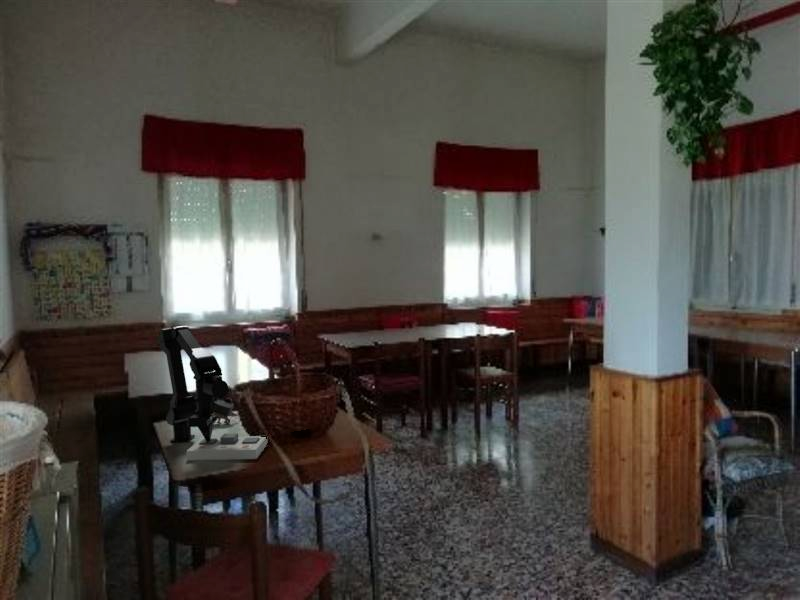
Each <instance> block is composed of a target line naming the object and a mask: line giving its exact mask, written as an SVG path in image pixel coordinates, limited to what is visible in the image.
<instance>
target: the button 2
mask: <svg viewBox="0 0 800 600" xmlns="http://www.w3.org/2000/svg"><path fill="white" fill-rule="evenodd" d="M258 441H259V437H257V438H245V439H244V440H243V442H242V444H256V443H257V442H258Z"/></svg>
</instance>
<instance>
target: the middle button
mask: <svg viewBox="0 0 800 600" xmlns="http://www.w3.org/2000/svg"><path fill="white" fill-rule="evenodd" d="M220 437H221V438H220V439H221V444H235V443H236V442H237V441H238V437H239V433H236V432H235V433H224V434H223V435H221V436H220Z"/></svg>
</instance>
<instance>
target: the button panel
mask: <svg viewBox="0 0 800 600" xmlns="http://www.w3.org/2000/svg"><path fill="white" fill-rule="evenodd" d="M261 436H262V435H256V436H255V435H254V436H253V435H249V436H246V435H245V436H238V441H237V442H236V443H235V444H221V439H220V438H221V437H222V436H211V439H215V438H217V442H216V443H214V444H213V445H199V443H200V442H201V441H202V440H203V439H205V438H204V436H203V437H201V438H200V439H199V440H198V441H196V442H195V443H194V444H192V445H191V446H190V447H189V448H188V449H187V450H186V461H219V460H221V461H222V460H257V459H258V458H259V456H260V455H261V454H262V453H263V451H264V450H265V449H266V448H265V447H267V446H268V445H267V443H268V438H267V439H266V437H261ZM257 437H259V441H258V442H257V443H256V444H242V442H243V440H244V439H245V438H257ZM266 445H267V446H266ZM264 448H265V449H264ZM261 452H262V453H261Z"/></svg>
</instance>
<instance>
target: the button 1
mask: <svg viewBox="0 0 800 600" xmlns="http://www.w3.org/2000/svg"><path fill="white" fill-rule="evenodd" d="M216 442H217V438H215V439H210V441H206V440H205V439H203V440H202V441H201V442H200V443H199V445H213V444H214V443H216Z"/></svg>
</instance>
